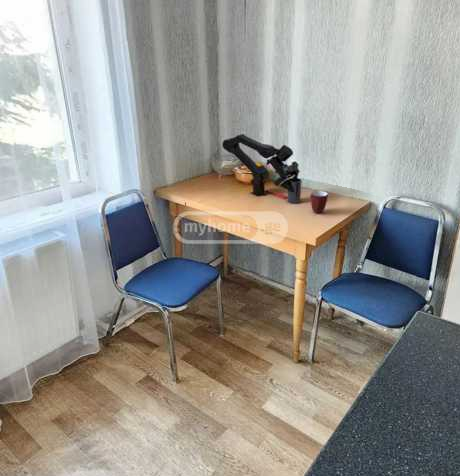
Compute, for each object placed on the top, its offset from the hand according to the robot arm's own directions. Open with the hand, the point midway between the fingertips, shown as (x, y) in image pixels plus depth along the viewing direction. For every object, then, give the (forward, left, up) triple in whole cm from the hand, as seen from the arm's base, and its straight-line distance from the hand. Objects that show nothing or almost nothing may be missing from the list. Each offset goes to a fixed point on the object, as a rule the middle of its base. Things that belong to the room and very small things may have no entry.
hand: (296, 190), depth 208 cm
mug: (+18, -2, -7) cm, 19 cm away
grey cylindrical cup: (-1, 0, -7) cm, 7 cm away
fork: (-15, 0, -7) cm, 17 cm away
